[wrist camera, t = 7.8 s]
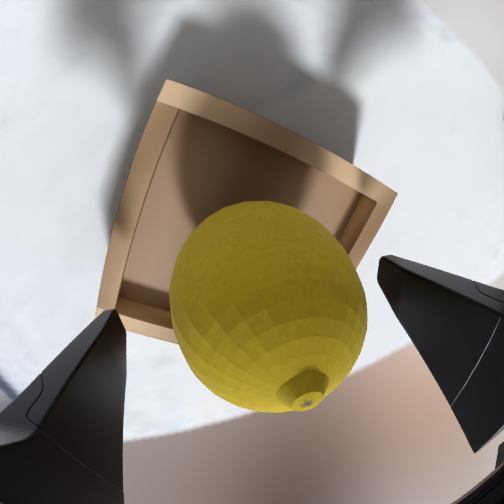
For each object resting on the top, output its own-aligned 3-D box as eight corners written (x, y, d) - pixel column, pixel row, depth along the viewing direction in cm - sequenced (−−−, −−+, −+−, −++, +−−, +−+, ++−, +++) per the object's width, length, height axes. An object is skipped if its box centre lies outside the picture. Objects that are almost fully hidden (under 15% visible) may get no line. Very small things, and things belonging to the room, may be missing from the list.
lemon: (211, 153, 10) (263, 232, 3) (325, 215, 13) (456, 328, 5) (154, 273, 12) (136, 447, 5) (262, 313, 14) (322, 459, 7)
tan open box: (352, 172, 15) (397, 193, 11) (272, 317, 18) (291, 365, 15) (174, 90, 12) (166, 79, 8) (113, 272, 15) (94, 320, 11)
